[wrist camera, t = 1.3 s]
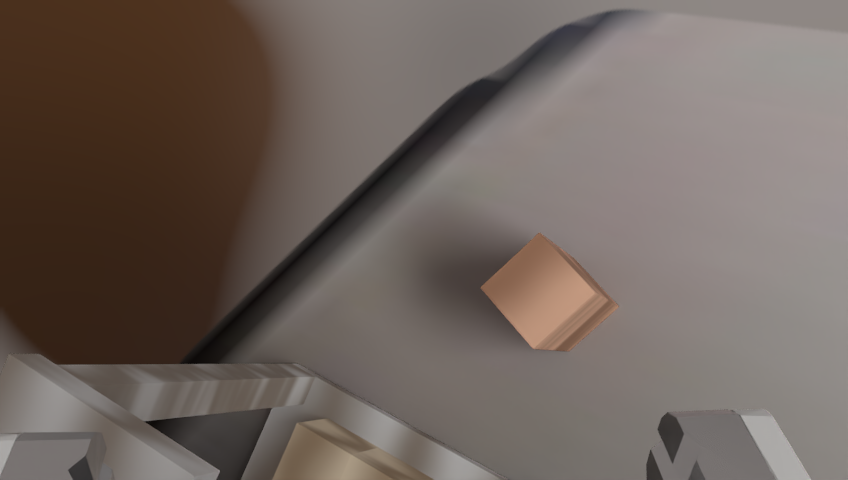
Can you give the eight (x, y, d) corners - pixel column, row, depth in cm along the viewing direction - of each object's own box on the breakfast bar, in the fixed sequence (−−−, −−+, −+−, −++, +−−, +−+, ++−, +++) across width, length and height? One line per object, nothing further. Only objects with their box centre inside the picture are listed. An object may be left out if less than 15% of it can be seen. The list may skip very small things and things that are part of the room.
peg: (619, 306, 46) (595, 292, 37) (569, 351, 46) (533, 348, 37) (573, 257, 47) (539, 232, 38) (525, 301, 48) (480, 287, 39)
